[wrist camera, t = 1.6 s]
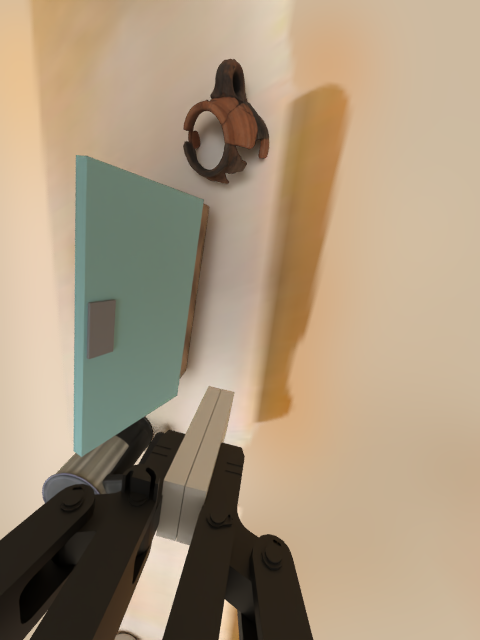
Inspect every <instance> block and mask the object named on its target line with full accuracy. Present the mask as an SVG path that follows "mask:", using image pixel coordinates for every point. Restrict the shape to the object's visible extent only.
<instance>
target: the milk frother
mask: <svg viewBox="0 0 480 640" xmlns="http://www.w3.org/2000/svg"><path fill="white" fill-rule="evenodd" d="M163 434H164V433H163V432H159V433H157V434H156V435H155V437H154V438H153V440H152V437H153V433H152V428H151V425H150V424H149V422H148V421H147V419H146V418H145V417H143V418H141V419H140V420H138V421H137V422H135V423H133V424H132V425H130V426H129V427H127V428H126V429H124V430H123V431H121V432H120V433H118V434H116V435H115V436H113V437H112V438H110V439H109V440H107V441H106V442H104V443H102V444H101V445H99V446H98V447H96V448H95V449H93V450H92V451H90V452H88V453H87V454H85V455H84V456H82V457H81V456H80V455H78V454H77V453H75V455H73V456H72V457H71V458H70V460H69V461H68V462H67V463H66V464H65V465H64V466H63V467H62V468H61V469H60V470H59V471H58V472H57V473H56V474H55V475H52V476H51V477H49V478H48V479H47V480H46V481H45V483H44V485H43V490H42V494H43V500H44V502H45V503H46V502H47V501H49V500H50V499H51V498H52V497H54V496H55V495H56V494H57V493H58V492H60V491H61V490H63V489H65V488H66V487H69V486H72V485H75V484H85V485H88V486H90V487H91V488H92V489H93V490H94V493H95V494H110V493H116V492H119V491H121V488H122V475H123V473H124V472H125V471H126V470H127V469H129V468H130V467H132V466H133V465H134V464H135V462H136V461H137V459H138V458H139V457H140V456H141V454H142V453H143V451H144V450H145V449H146V448H147V447H148V446H149V447H148V449H147V450H146V452H145V454H144V455H143V457H142V459H141V461H140V462H139V464H145V462H146V460H147V459H148V457H149V455H150V454H151V453H152V450H153V449H154V447H155V446H156V444H157V442H158V440H159V439H160V437H161V436H162V435H163ZM151 441H152V442H151Z"/></svg>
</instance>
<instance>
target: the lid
mask: <svg viewBox="0 0 480 640" xmlns="http://www.w3.org/2000/svg"><path fill="white" fill-rule="evenodd" d="M203 202H204V200H203V199H200V198H198V197H195V196H192V195H190V194H187V193H184V192H182V191H179V190H176V189H174V188H171V187H168V186H166V185H163V184H160V183H158V182H155V181H152V180H150V179H147V178H144V177H142V176H139V175H136V174H134V173H131V172H128V171H126V170H123V169H120V168H118V167H115V166H112V165H110V164H107V163H104V162H102V161H99V160H96V159H94V158H91V157H88V156H80V155H76V217H75V343H74V452H76V453H77V454H78V455H80V456H81V457H82V456H84V455H85V454H87V453H88V452H90V451H92V450H93V449H95V448H96V447H98V446H99V445H101V444H102V443H104V442H106V441H107V440H109V439H110V438H112V437H113V436H115V435H116V434H118V433H120V432H121V431H123V430H124V429H126V428H127V427H129V426H130V425H132V424H133V423H135V422H137V421H138V420H140V419H141V418H143V417H144V416H146V415H147V414H149V413H151V412H152V411H154V410H155V409H157V408H158V407H160V406H161V405H163V404H165V403H166V402H168V401H169V400H171V399H172V398H174V397H175V396H177V392H178V385H179V378H180V370H181V363H182V356H183V348H184V341H185V334H186V327H187V319H188V312H189V305H190V297H191V290H192V283H193V275H194V268H195V261H196V254H197V246H198V239H199V232H200V224H201V217H202V210H203Z"/></svg>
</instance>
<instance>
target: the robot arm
mask: <svg viewBox="0 0 480 640" xmlns="http://www.w3.org/2000/svg"><path fill="white" fill-rule="evenodd" d="M233 397H234V392H231V391H227V390H223V389H222V390H221V389H219V388H215V387H210V386H209V387H208V389H207V391H206V393H205V395H204V397H203V399H202V401H201V403H200V405H199V407H198V410H197V412H196V414H195V416H194V418H193V420H192V422H191V424H190V426H189V428H188V430H187V433H186V434H183V433H179V432H175V431H171V430H169V431H167V432H166V433H165V434H163V435H162V436H161V437H160V439H159V440H158V442H157V444H156V446H155V447H154V449H153V450H152V453H151V454H150V455H149V457H148V459H147V460H146V462H145V464H138V465H134V466H132V467H130V468H129V469H127V470H126V471H125V472H124V473H123V475H122V488H121V491H119V492H116V493H110V494H95V493H94V490H93V489H92V488H91V487H90V486H88V485H85V484H75V485H72V486H69V487H66V488H65V489H63V490H61V491H60V492H58V493H57V494H56V495H55V496H54V497H52V498H51V499H50V500H49V501H47V502H46V503H45V504H44V505H43V506H41V507H40V508H39V509H38V510H36V511H35V512H34V513H33V514H32V515H30V516H29V517H28V518H27V519H26V520H24V521H23V522H22V523H21V524H19V525H18V526H17V527H16V528H15V529H13V530H12V531H11V532H10V533H8V534H7V535H6V536H5V537H4V538H2V539H1V540H0V640H23V639H24V638H25V637H26V635H27V634H28V633H29V632H30V631H31V629H32V628H33V627H34V626H35V625H36V624H37V622H38V621H39V620H40V619H41V617H42V616H43V615H44V614H45V613H46V614H45V616H44V617H43V619H42V620H41V622H40V624H39V625H38V627H37V629H36V630H35V632H34V633H33V635H32V637H31V638H30V640H115V637H116V635H117V632H118V630H119V627H120V625H121V622H122V620H123V617H124V615H125V612H126V610H127V607H128V605H129V603H130V600H131V598H132V595H133V593H134V590H135V588H136V585H137V583H138V580H139V578H140V575H141V573H142V570H143V568H144V566H145V563H146V561H147V558H148V556H149V553H150V549H151V544H152V539H153V537H154V535H155V532H156V530H157V534H156V536H159V537H163V538H166V539H170V540H173V541H177V542H180V543H184V544H187V545H190V547H189V550H188V554H187V557H186V561H185V564H184V567H183V571H182V574H181V578H180V581H179V585H178V588H177V591H176V595H175V598H174V602H173V605H172V609H171V612H170V615H169V619H168V622H167V626H166V629H165V633H164V636H163V639H162V640H218V639H219V633H220V626H221V619H222V612H223V606H224V599H225V600H227V601H228V602H229V603H230V604H231V605H233V606H234V607H235V608H236V609H237V612H238V626H239V640H313V637H312V633H311V629H310V625H309V621H308V617H307V613H306V610H305V605H304V601H303V597H302V593H301V589H300V585H299V582H298V577H297V573H296V570H295V565H294V561H293V558H292V555H291V552H290V550H289V548H288V546H287V545H286V544H285V543H284V541H283V540H281V539H280V538H278V537H277V536H274V535H270V534H267V535H262V536H260V537H257V536H256V535H254V534H253V533H251V532H250V531H249V530H247V529H246V528H245V527H244V525H243V524H242V523H241V521H240V519H239V517H238V513H237V504H238V498H239V491H240V484H241V477H242V470H243V464H244V454H243V451H242V448H241V447H237V446H233V445H229V444H225V443H223V442H224V438H225V435H226V431H227V426H228V421H229V416H230V411H231V407H232V402H233ZM176 538H177V540H176ZM47 610H48V611H47Z"/></svg>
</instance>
